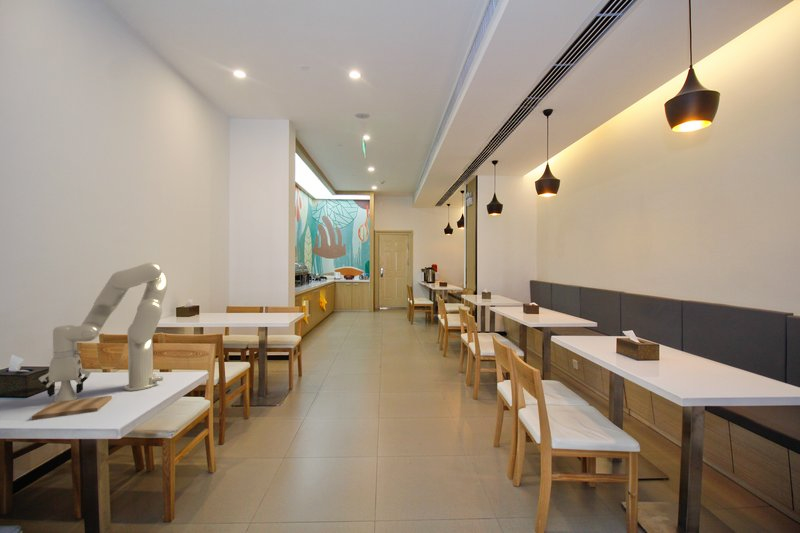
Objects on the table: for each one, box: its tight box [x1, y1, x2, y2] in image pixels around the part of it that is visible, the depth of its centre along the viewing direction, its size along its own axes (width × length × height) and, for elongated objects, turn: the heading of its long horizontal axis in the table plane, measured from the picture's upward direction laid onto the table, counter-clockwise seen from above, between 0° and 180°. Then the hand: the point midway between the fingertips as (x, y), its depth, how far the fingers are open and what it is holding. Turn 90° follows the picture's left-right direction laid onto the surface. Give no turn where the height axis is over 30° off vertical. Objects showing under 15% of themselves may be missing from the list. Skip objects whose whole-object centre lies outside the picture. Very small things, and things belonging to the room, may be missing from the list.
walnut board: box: [31, 395, 113, 421], centre depth 142 cm, size 20×14×2 cm
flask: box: [53, 381, 79, 403], centre depth 152 cm, size 7×7×10 cm
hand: (65, 393), depth 151 cm, fingers open, 9 cm apart
